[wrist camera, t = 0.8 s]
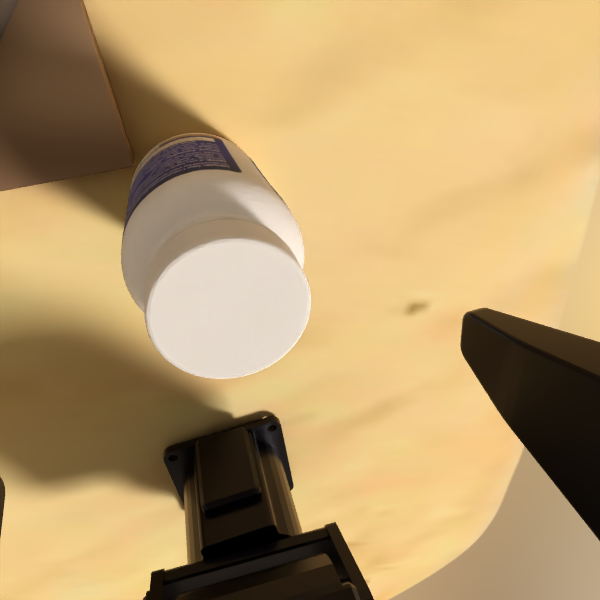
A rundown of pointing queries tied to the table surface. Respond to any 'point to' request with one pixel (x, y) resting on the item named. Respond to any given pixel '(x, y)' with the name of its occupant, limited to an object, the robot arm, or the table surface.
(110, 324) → the table surface
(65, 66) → the collar board
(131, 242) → the pill bottle
